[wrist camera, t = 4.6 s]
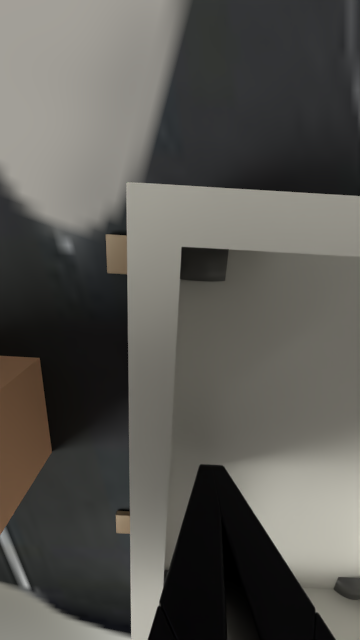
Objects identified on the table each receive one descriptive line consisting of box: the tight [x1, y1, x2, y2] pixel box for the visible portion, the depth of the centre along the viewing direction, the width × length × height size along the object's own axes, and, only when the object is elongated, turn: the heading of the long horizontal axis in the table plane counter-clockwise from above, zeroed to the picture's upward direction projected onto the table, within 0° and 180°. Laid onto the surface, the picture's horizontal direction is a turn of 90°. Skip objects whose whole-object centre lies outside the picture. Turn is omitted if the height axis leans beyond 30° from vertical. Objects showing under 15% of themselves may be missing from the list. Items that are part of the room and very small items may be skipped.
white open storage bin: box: [126, 182, 360, 640], centre depth 7 cm, size 10×15×4 cm, turn 177°
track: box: [106, 234, 130, 534], centre depth 10 cm, size 17×14×1 cm
